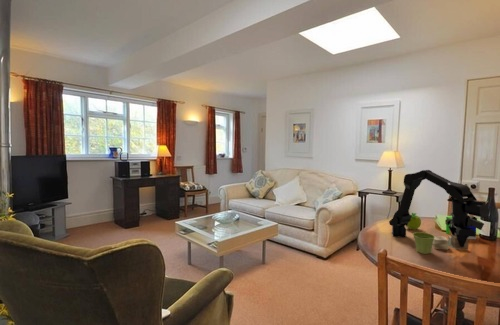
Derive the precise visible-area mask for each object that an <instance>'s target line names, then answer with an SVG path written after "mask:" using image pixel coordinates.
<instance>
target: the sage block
mask: <svg viewBox="0 0 500 325" xmlns="http://www.w3.org/2000/svg"><path fill="white" fill-rule="evenodd" d="M447 240H448V247H450V248H452V249H454V250H456V249H455V248H454V247H453V246H452V245H451V235H450V236H448V238H447Z"/></svg>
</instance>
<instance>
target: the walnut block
mask: <svg viewBox="0 0 500 325" xmlns="http://www.w3.org/2000/svg"><path fill="white" fill-rule="evenodd" d="M450 236H451V245H452V246H453V247H454V248H455V249H454V248H453V249H454V250H469V239H468V238H467V239H466V242H465V244H464V247H460V245H459V243H458V240H457V238H456V235H452V234H451V235H450Z"/></svg>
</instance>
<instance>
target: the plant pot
mask: <svg viewBox="0 0 500 325" xmlns="http://www.w3.org/2000/svg"><path fill="white" fill-rule="evenodd" d="M412 236H413V239H414V244H415V251H416V252H417V253H420V254H424V255H428V254H429V255H430V254H431V253H432V247H433V246H432V243H433V240H434V238H435V236H436V235H434V234H432V233H428V232H421V231H417V232H413V233H412Z"/></svg>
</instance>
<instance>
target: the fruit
mask: <svg viewBox="0 0 500 325" xmlns="http://www.w3.org/2000/svg"><path fill="white" fill-rule="evenodd" d="M417 214H418V213H416V212H415V213H414V212H411V215H412V217H411V221H409V223H408V225H405V227H406V228H408V229H409V230H413V231H414V230H417V229H419V228H420V227H421V225H422V220H421V218H420V216H418V215H417Z"/></svg>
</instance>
